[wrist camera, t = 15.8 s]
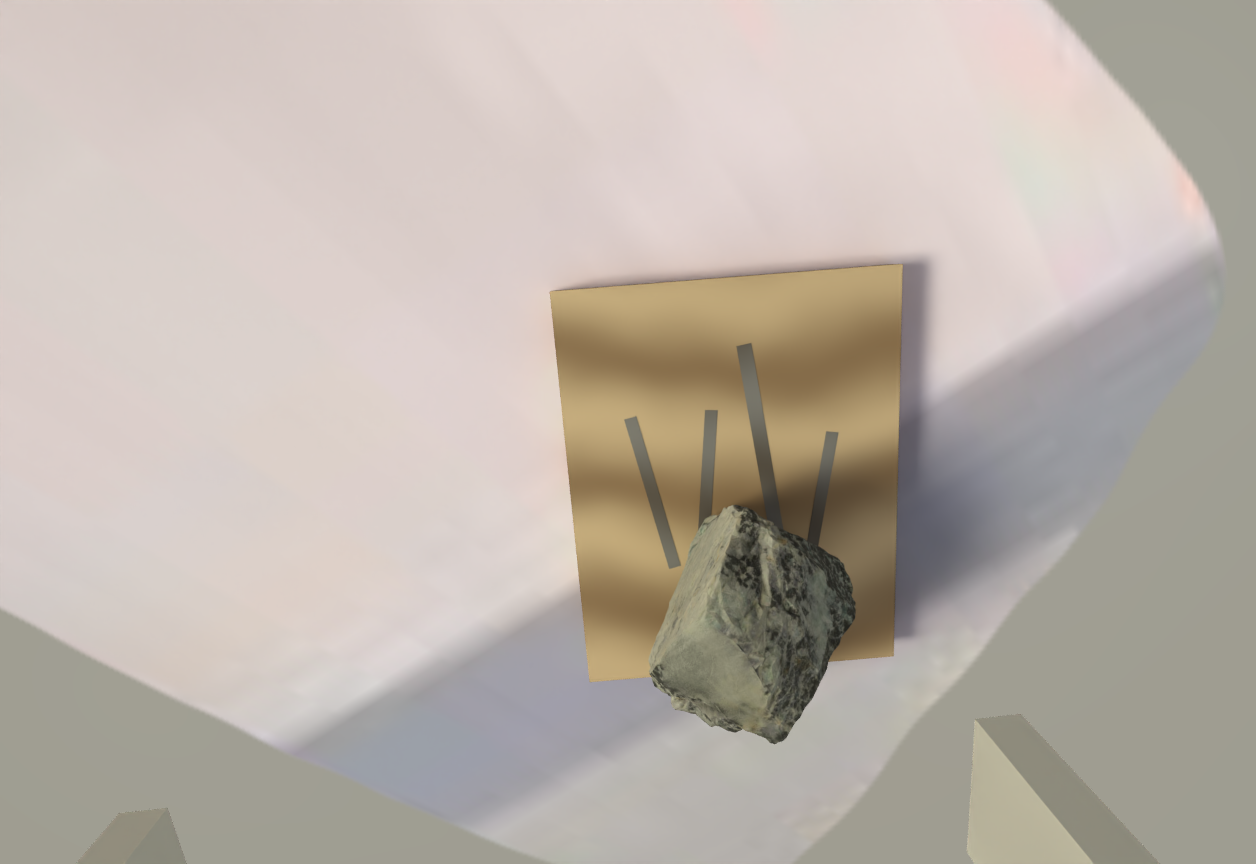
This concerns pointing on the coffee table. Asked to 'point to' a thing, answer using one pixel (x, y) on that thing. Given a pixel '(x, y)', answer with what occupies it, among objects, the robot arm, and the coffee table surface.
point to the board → (729, 437)
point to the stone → (751, 625)
